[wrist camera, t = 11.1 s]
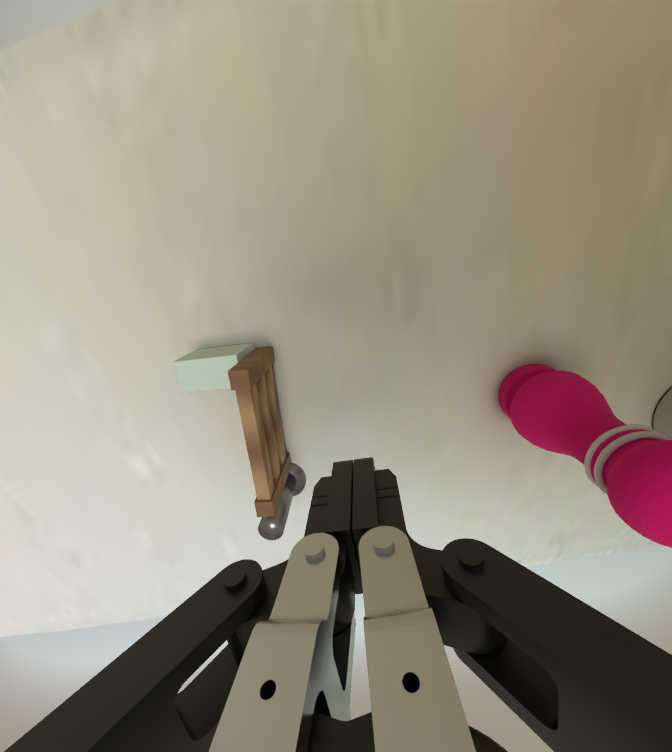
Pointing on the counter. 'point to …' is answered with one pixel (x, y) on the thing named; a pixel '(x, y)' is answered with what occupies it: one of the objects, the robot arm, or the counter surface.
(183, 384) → the block
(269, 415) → the gate
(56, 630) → the counter surface
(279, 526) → the hinge post
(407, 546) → the robot arm
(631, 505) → the pepper mill
